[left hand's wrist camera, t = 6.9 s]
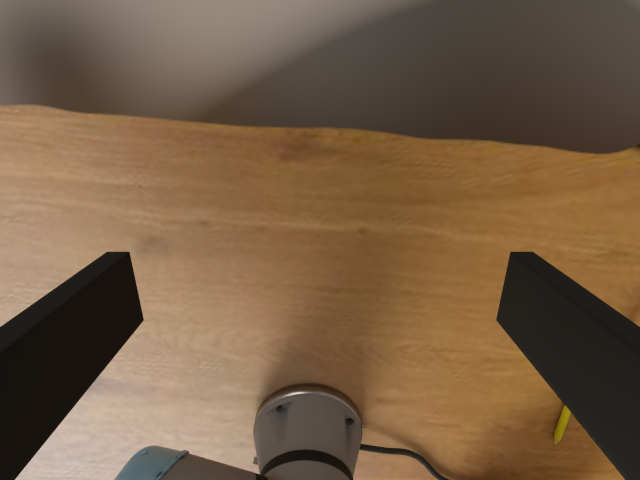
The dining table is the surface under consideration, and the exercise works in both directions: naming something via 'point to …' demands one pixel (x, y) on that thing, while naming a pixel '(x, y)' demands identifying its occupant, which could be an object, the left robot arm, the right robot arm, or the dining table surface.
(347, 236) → the dining table surface
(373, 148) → the dining table surface
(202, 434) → the dining table surface
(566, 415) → the pencil
